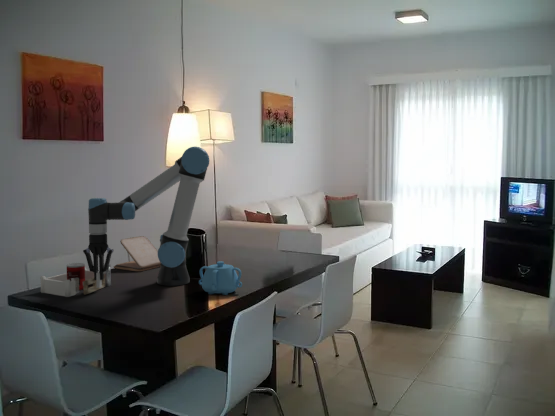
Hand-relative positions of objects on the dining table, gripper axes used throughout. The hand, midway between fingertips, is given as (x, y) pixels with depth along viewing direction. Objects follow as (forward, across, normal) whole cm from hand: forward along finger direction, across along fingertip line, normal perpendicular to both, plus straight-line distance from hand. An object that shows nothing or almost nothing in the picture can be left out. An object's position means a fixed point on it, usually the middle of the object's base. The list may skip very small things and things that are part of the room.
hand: (99, 287), depth 242 cm
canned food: (+2, +12, -5) cm, 14 cm away
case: (+1, -2, -56) cm, 56 cm away
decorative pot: (+3, -53, -1) cm, 53 cm away
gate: (+2, +2, -1) cm, 3 cm away
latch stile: (+2, +10, +2) cm, 10 cm away
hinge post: (+2, 0, -12) cm, 12 cm away
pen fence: (+2, +12, -5) cm, 13 cm away
